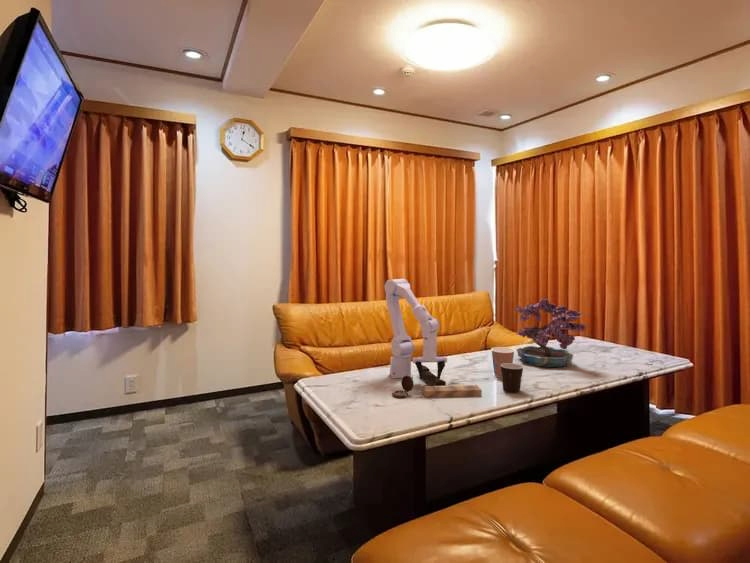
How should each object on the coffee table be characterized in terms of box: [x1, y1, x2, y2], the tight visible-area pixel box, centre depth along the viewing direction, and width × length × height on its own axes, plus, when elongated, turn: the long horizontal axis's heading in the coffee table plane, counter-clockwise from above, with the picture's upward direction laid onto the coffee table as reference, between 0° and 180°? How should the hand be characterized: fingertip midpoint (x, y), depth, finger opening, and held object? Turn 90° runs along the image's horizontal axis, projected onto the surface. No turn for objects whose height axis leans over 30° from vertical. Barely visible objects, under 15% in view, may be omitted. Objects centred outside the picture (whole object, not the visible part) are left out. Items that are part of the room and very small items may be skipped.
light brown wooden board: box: [422, 384, 483, 399], centre depth 162 cm, size 22×6×3 cm, turn 93°
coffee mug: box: [501, 362, 524, 394], centre depth 165 cm, size 12×9×10 cm
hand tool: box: [422, 364, 447, 386], centre depth 176 cm, size 23×5×6 cm, turn 12°
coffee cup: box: [490, 346, 516, 379], centre depth 186 cm, size 10×10×12 cm
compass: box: [391, 376, 414, 399], centre depth 160 cm, size 8×8×7 cm
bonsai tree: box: [515, 298, 586, 368], centre depth 205 cm, size 35×27×32 cm
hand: (429, 379), depth 175 cm, fingers open, 7 cm apart
